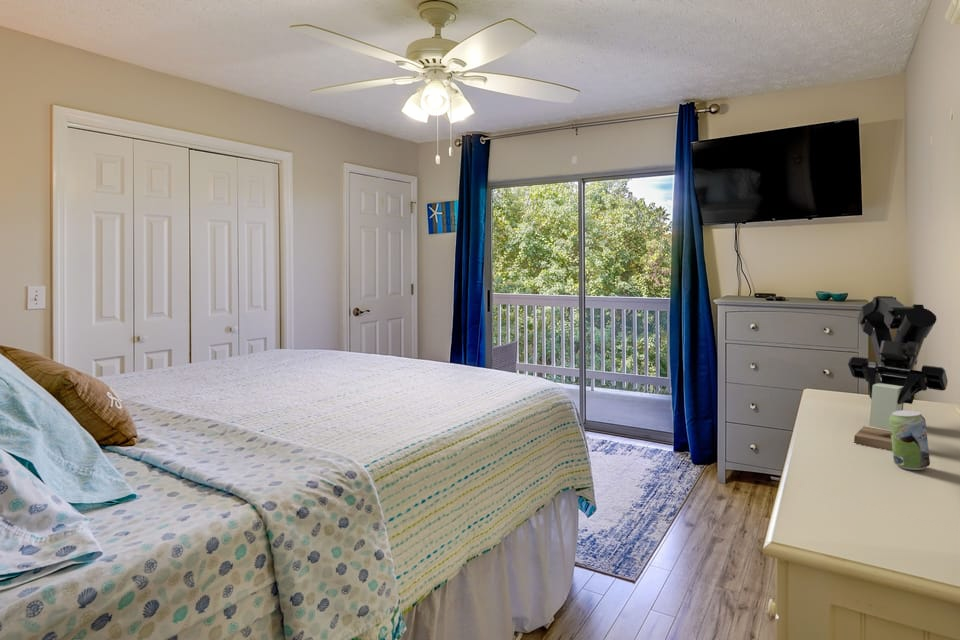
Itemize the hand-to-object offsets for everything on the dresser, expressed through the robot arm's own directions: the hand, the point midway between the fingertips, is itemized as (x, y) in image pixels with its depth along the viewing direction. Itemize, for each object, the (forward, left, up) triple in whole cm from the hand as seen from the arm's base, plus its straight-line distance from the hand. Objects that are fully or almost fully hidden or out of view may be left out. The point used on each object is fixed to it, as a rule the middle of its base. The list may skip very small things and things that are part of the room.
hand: (884, 400), depth 130 cm
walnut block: (-1, 0, -11) cm, 11 cm away
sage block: (-1, 0, -7) cm, 7 cm away
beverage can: (+14, +7, -11) cm, 19 cm away
